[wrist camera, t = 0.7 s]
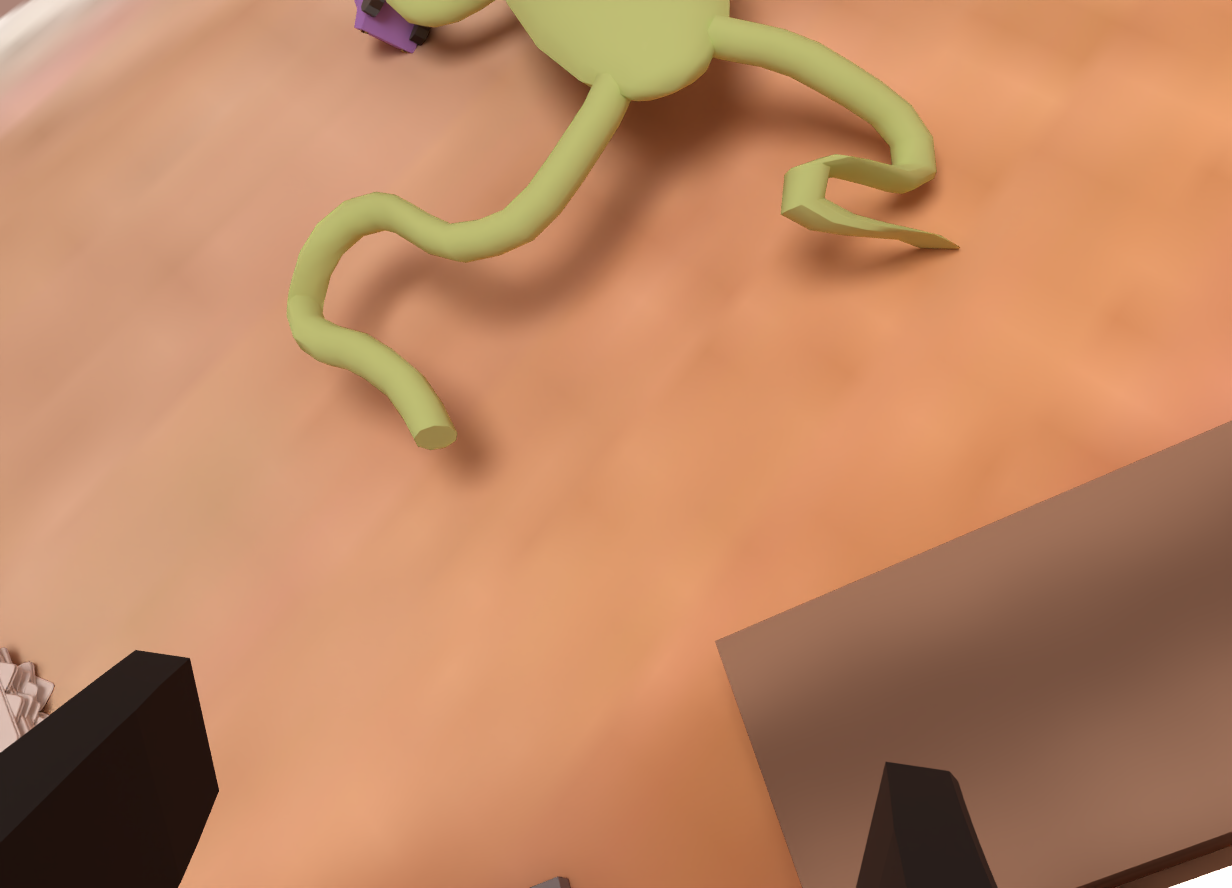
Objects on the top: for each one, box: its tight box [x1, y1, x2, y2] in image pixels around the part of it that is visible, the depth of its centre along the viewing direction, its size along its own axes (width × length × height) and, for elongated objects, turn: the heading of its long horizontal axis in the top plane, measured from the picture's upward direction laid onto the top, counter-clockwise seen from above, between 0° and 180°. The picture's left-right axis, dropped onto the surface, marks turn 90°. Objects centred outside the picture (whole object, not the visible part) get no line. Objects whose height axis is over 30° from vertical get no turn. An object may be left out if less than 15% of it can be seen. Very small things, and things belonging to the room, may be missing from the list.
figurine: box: [287, 0, 960, 450], centre depth 37 cm, size 18×27×6 cm
